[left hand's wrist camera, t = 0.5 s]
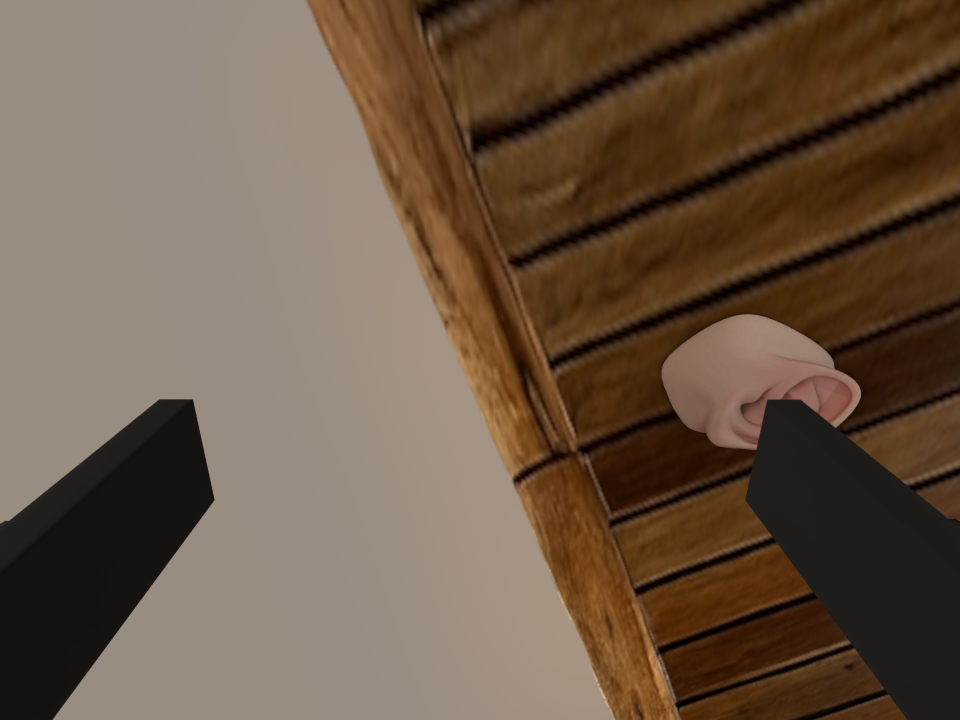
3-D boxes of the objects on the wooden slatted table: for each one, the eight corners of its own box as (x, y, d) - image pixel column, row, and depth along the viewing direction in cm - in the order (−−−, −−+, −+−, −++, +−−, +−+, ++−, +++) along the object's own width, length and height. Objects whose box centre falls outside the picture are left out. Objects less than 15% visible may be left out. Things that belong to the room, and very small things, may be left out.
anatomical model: (652, 411, 41) (765, 290, 38) (637, 389, 45) (738, 278, 42) (772, 497, 44) (885, 392, 41) (748, 470, 48) (850, 372, 45)
